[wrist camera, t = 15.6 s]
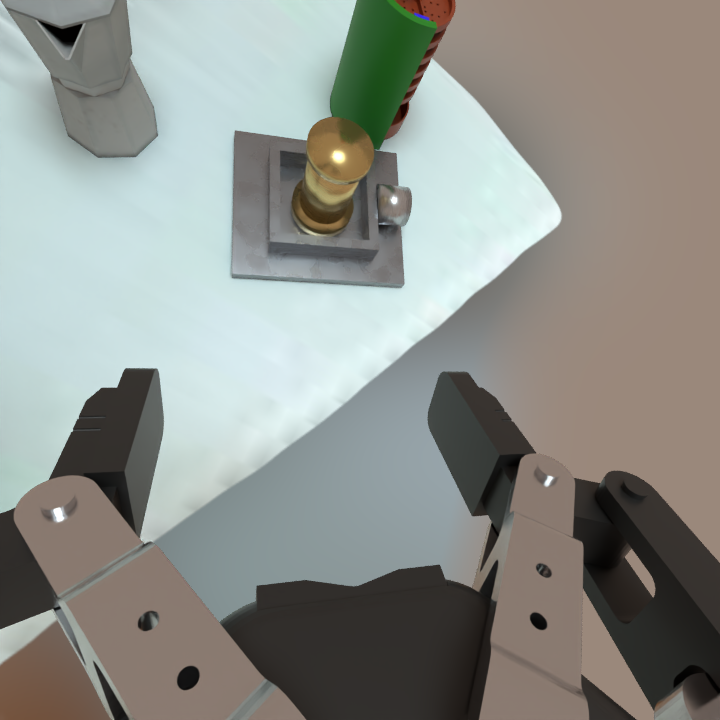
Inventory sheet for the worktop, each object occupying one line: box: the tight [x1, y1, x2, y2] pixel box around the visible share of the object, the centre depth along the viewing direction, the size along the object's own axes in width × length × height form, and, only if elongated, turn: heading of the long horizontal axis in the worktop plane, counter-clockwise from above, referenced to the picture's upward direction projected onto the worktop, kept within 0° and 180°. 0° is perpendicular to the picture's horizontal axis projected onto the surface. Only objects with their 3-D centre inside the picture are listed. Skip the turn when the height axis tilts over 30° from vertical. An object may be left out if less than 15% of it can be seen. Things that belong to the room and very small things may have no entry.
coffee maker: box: [1, 0, 158, 157], centre depth 36 cm, size 15×9×18 cm, turn 12°
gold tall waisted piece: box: [291, 117, 374, 237], centre depth 42 cm, size 6×6×10 cm
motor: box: [330, 0, 455, 150], centre depth 43 cm, size 10×9×20 cm
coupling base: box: [232, 131, 412, 287], centre depth 46 cm, size 18×16×5 cm
